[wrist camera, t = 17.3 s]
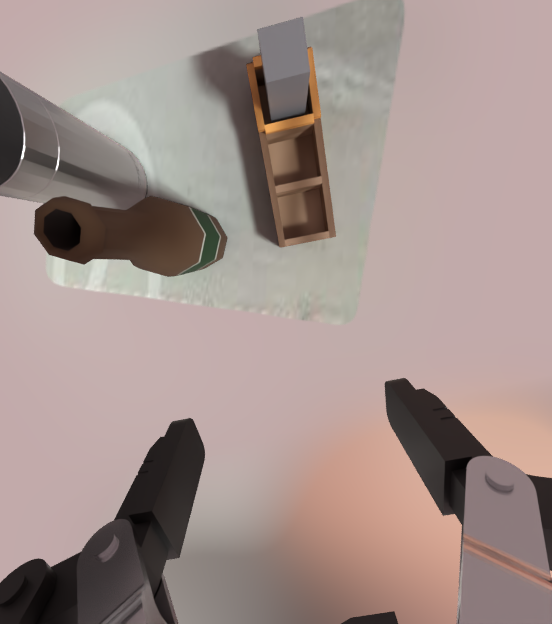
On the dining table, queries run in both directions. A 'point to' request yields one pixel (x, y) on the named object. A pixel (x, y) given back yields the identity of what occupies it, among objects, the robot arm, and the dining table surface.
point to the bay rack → (294, 164)
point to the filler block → (285, 68)
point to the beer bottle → (131, 234)
